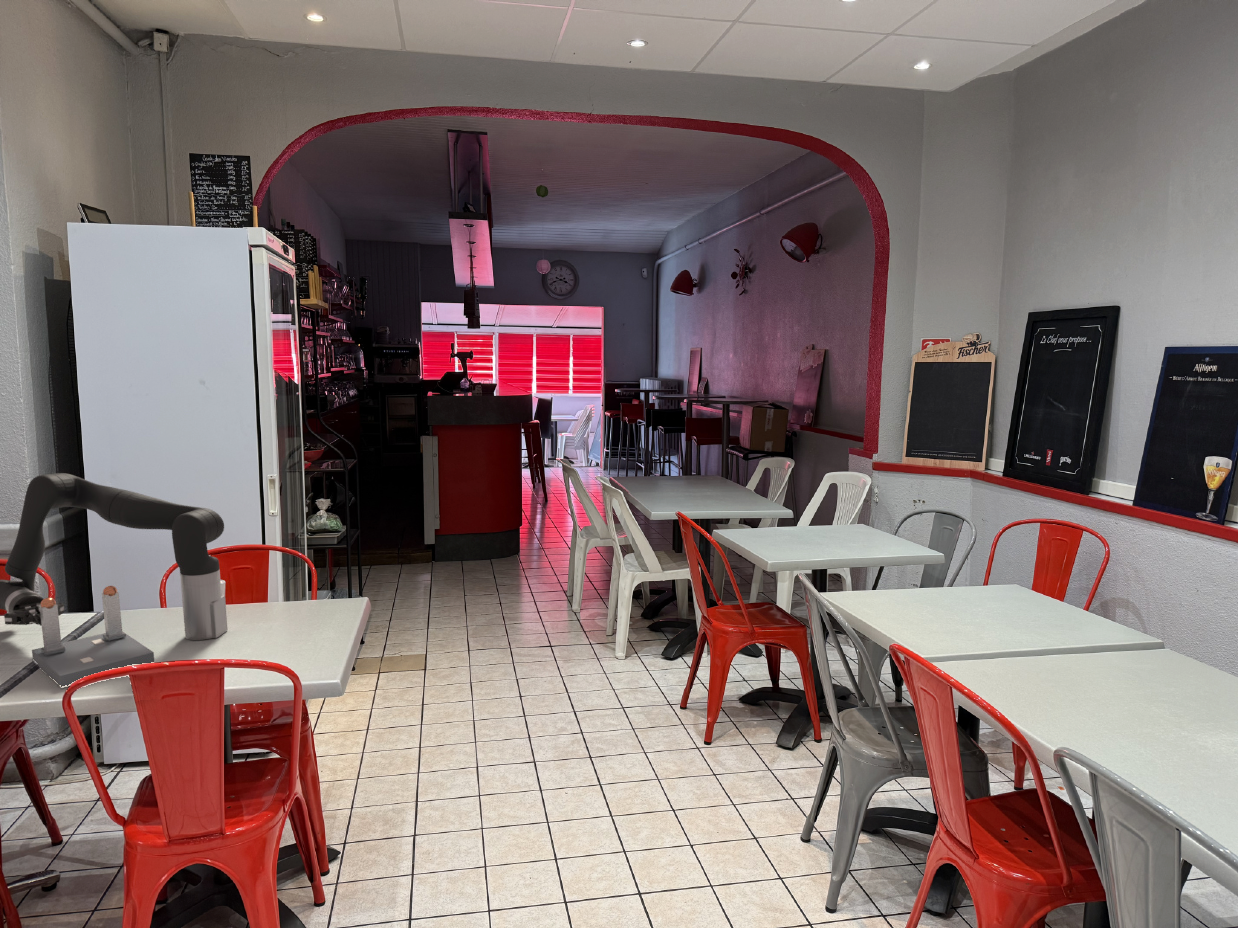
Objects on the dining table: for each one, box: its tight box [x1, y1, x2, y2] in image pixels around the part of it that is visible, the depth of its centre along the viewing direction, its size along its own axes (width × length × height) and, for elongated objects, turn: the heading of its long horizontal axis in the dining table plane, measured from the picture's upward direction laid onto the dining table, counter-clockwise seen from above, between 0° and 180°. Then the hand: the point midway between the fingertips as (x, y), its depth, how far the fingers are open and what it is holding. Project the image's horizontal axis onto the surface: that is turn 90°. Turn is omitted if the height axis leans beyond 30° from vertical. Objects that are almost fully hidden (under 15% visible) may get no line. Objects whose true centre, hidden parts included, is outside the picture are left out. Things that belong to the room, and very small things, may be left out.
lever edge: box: [40, 597, 65, 656], centre depth 194 cm, size 4×4×13 cm
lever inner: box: [101, 585, 127, 641], centre depth 204 cm, size 4×4×13 cm
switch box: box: [31, 632, 155, 687], centre depth 196 cm, size 24×19×3 cm
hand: (44, 620), depth 198 cm, fingers closed
